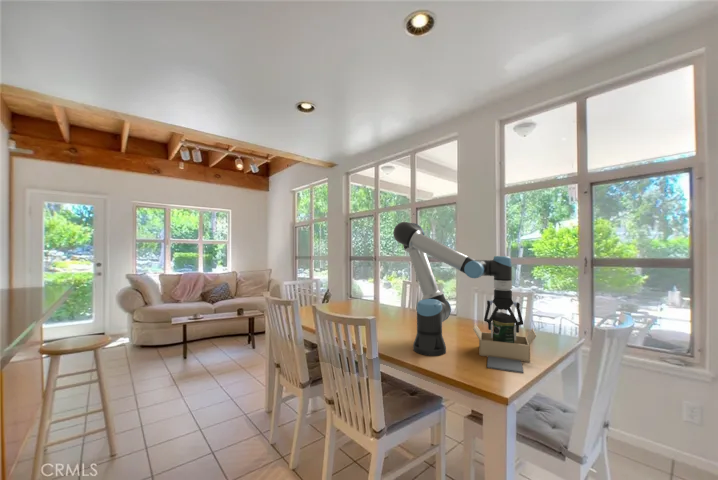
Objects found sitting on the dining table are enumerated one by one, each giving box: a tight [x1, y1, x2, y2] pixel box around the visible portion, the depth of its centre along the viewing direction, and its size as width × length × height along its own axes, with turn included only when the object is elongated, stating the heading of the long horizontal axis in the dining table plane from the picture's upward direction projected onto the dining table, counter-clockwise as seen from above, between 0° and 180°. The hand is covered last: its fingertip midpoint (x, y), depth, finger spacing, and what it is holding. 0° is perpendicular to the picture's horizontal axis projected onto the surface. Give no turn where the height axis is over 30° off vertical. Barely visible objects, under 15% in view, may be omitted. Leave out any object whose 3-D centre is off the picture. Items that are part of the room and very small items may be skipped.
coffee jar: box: [492, 311, 516, 343], centre depth 140 cm, size 10×8×19 cm
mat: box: [486, 356, 524, 374], centre depth 126 cm, size 13×13×1 cm
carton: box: [473, 322, 537, 363], centre depth 140 cm, size 25×15×11 cm, turn 66°
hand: (503, 338), depth 140 cm, fingers closed on coffee jar, 9 cm apart
